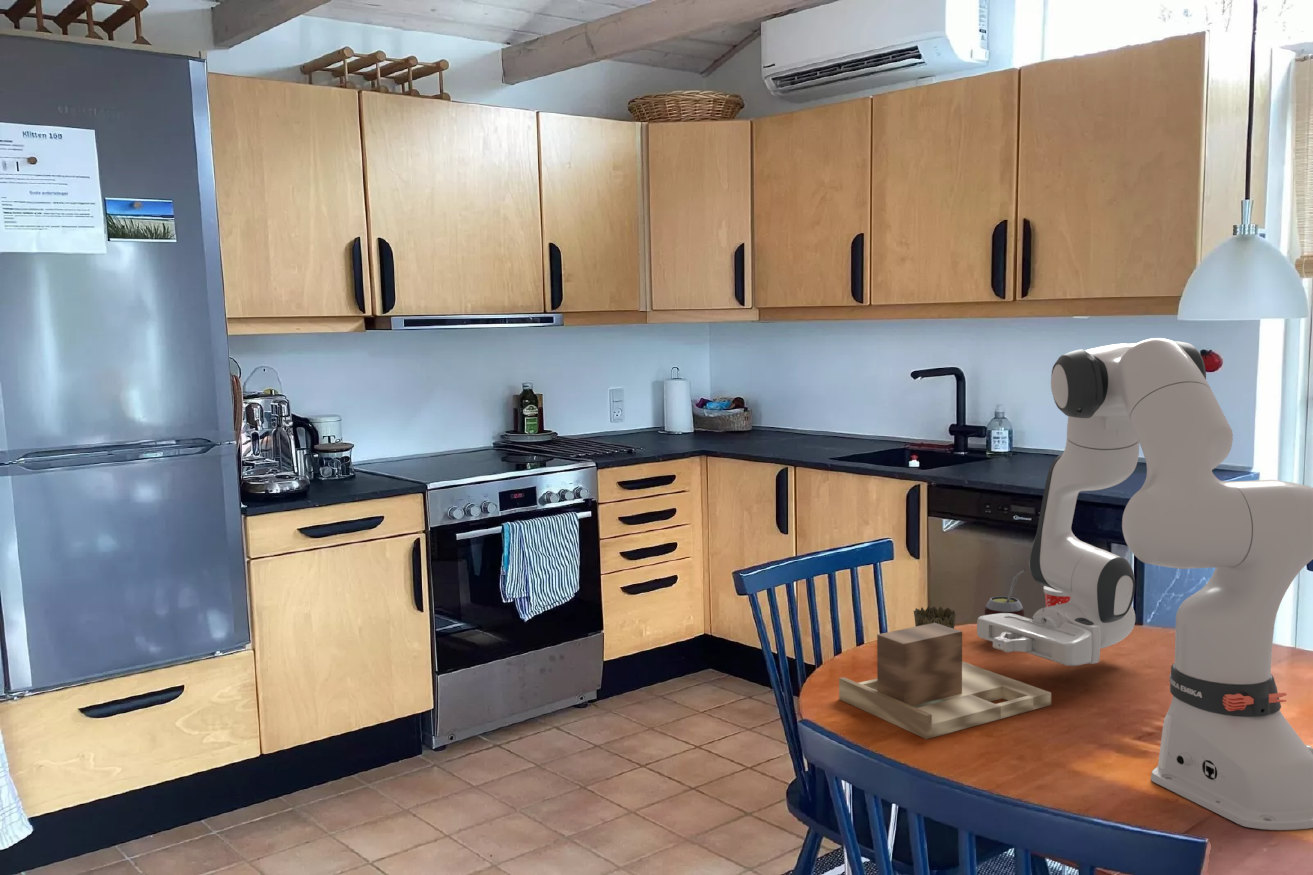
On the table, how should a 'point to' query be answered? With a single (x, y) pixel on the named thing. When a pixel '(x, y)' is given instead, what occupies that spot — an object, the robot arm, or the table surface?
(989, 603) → the mate gourd
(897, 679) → the block
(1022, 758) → the table surface
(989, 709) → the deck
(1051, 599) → the beverage cup
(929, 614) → the cup
